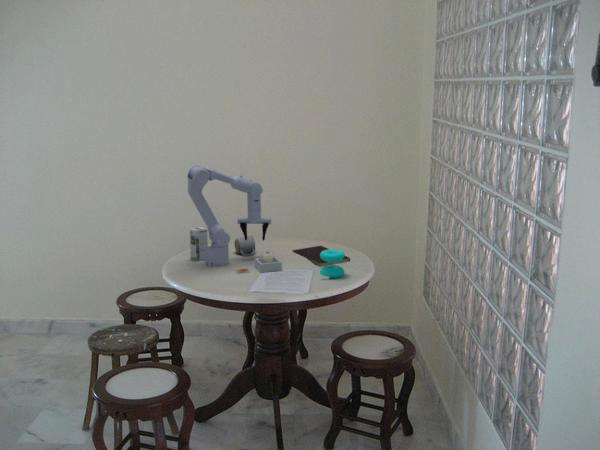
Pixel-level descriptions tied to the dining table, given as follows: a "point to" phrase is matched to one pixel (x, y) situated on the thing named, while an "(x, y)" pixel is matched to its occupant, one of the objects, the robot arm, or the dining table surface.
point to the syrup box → (198, 243)
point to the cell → (267, 257)
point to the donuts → (332, 256)
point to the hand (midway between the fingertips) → (254, 239)
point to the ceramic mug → (245, 246)
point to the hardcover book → (317, 255)
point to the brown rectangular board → (242, 271)
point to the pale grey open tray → (268, 265)
